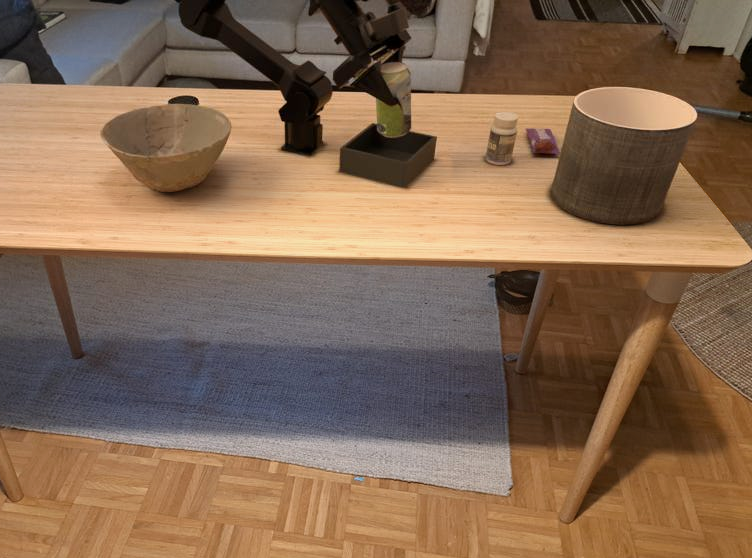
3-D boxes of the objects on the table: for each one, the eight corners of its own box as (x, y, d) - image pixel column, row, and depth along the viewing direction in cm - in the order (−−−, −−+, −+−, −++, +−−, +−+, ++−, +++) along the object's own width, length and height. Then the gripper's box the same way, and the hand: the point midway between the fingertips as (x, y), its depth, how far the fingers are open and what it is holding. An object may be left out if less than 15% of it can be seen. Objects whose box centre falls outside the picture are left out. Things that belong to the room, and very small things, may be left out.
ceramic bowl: (182, 144, 135) (176, 94, 129) (261, 180, 123) (258, 126, 116) (86, 181, 124) (73, 127, 117) (161, 225, 111) (152, 168, 105)
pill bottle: (481, 155, 129) (489, 111, 124) (506, 154, 130) (515, 110, 124) (489, 166, 126) (497, 121, 120) (514, 164, 126) (524, 120, 120)
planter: (673, 229, 108) (713, 132, 97) (557, 222, 110) (583, 126, 100) (647, 179, 121) (679, 89, 110) (544, 173, 123) (566, 84, 113)
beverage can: (415, 139, 121) (426, 68, 113) (377, 143, 119) (385, 72, 111) (401, 126, 125) (410, 57, 118) (364, 129, 124) (370, 60, 116)
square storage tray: (339, 171, 125) (339, 147, 122) (371, 145, 133) (372, 122, 130) (405, 188, 120) (407, 163, 117) (434, 160, 128) (437, 136, 125)
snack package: (526, 123, 136) (551, 124, 135) (523, 133, 137) (549, 134, 136) (534, 147, 127) (562, 148, 126) (532, 157, 128) (559, 158, 128)
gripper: (353, 0, 102) (411, 89, 105) (407, -25, 114) (458, 56, 117) (308, 46, 111) (362, 127, 114) (362, 19, 122) (411, 93, 125)
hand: (400, 99), depth 117 cm, fingers closed on beverage can, 5 cm apart
